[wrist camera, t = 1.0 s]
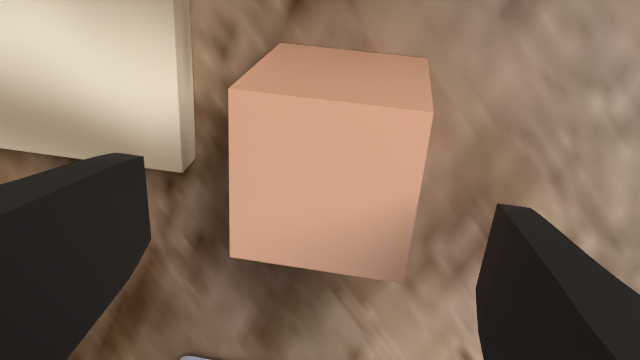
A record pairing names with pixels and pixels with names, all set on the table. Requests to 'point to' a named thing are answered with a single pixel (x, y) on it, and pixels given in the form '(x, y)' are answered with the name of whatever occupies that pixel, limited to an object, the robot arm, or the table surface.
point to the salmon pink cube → (328, 159)
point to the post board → (98, 79)
